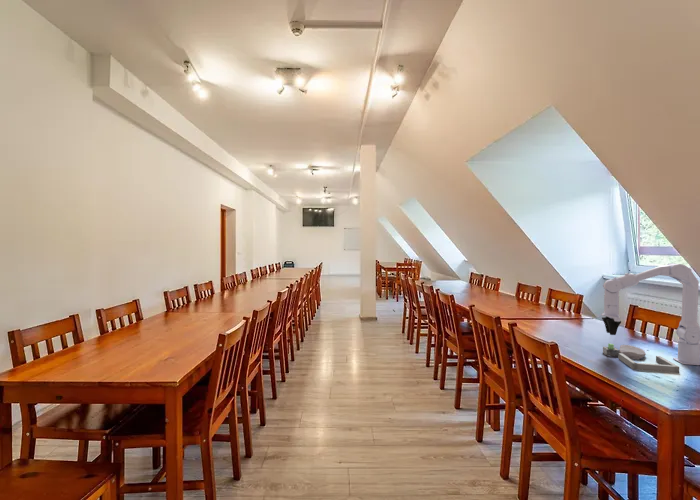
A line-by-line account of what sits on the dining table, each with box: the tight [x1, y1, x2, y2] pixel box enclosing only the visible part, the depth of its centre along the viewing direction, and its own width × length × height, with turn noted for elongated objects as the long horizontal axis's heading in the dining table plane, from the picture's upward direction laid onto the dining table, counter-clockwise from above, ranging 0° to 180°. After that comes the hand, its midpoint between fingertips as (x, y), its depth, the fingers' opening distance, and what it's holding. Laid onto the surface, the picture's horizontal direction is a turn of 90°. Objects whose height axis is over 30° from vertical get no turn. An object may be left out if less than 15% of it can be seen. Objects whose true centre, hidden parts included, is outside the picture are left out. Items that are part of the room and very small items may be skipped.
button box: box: [602, 346, 619, 358], centre depth 179 cm, size 5×5×3 cm
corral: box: [617, 353, 680, 374], centre depth 164 cm, size 16×16×2 cm
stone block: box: [618, 344, 647, 361], centre depth 177 cm, size 12×5×10 cm
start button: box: [607, 343, 615, 349], centre depth 179 cm, size 2×2×4 cm
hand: (611, 333), depth 179 cm, fingers open, 3 cm apart
